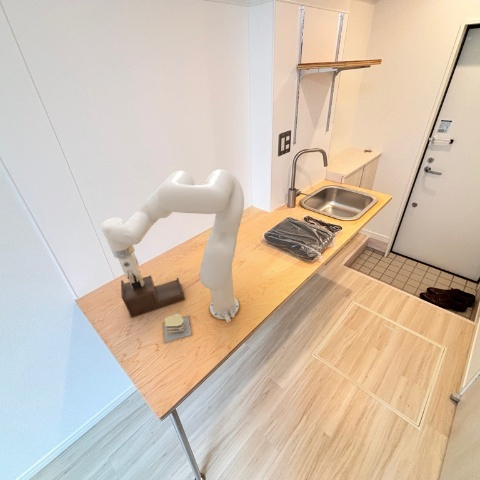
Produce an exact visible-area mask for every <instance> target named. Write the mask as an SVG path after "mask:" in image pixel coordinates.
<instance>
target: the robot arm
mask: <svg viewBox="0 0 480 480" xmlns="http://www.w3.org/2000/svg"><path fill="white" fill-rule="evenodd" d="M244 208H245V195H244V190H243V186H242V185H241V183H240V180H238V178H237V177H236V176H235V175H234V174H233V173H232V172H230V171H229V170H227V169H223V168H218V169H214V170H213V171H212V172H210V173H209V174H208V175H207V177H206V178H205V180H204V182H203V184H202V185H200V184H196V182H195V180H194V178H193V176H192V175H191V174H190V173H189V172H187V171H185V170H177V171H174V172H172V173H171V174H170V175H168V176H167V177H166V178H165V180H164V181H163V182H162V183H161V184H160V185H159V186H158V187H157V188H156V189H155V190H154V191H153V192H152V193H151V194H150V195H149V196H148V197H147V199H146V201H145V202H144V203H143V204H142V206H140V208H139V209H137V210H136V211H135V213H133V215H132V216H130V217H129V219H128V220H127V221H126V222H125V221H124V220H123V219H122V218H120V217H111V218H110V217H109V218H108V219H106V220H104V221H103V222H102V223H101V226H100V227H101V228H100V229H101V231H102V234H103V235H104V237H105V239H106V242H107V244H108V246H109V249H110V251H111V253H112V255H113V257H114V258H115V259H118V262H119V264H120V267H121V269H122V272H123V274H124V276H125V278H126V279H127V280H128V279H130V282H131V285H132V287H133V289H134V290H136V289H139V288H142V286H141V283H140V281H139V280H138V278H137V276H139V275H140V273H141V270H140V271H139V269H140V264H139V263H140V262H139V261H138V258H137V256H136V254H135V251H136V250H135V247H134V245H138V244H140V243H141V242H142V240H143V239H145V236H146V235H147V233H148V232H149V231H150V230H151V228H152V227H153V225H155V223H157V222H158V221H159V220H160V219H166V218H169V216H171V215H172V214H173V213H178V214H179V213H180V214H200V215H214V220H213V221H214V222H213V226H212V228H211V231H210V233H209V236H208V238H207V242H206V244H205V247H204V251H203V255H202V260H201V263H200V264H201V265H200V269H199V276H198V277H199V281H200V284H201V285H202V286H203V287H205V288H206V289H208V290H209V291H210V292H209V293H210V297H211V301H210V304H209V312H210V314H211V316H213V317H214V318H215V319H219V320H225V322H226V323H230V322H232V319H231V318H235V317H236V315H237V313H238V312H239V309H240V304H239V300H238V299H237V298H236V297H235V289H234V279H233V262H234V259H235V255H236V254H235V253H236V249H237V243H238V242H237V240H238V235H239V230H240V227H241V222H242V218H243V214H244ZM133 274H134V275H133ZM134 277H135V278H136V279H134Z"/></svg>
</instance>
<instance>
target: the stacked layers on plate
mask: <svg viewBox="0 0 480 480" xmlns="http://www.w3.org/2000/svg"><path fill="white" fill-rule="evenodd" d="M163 325H164V343H167V342H171V341H175V340H178V339H181V338H185V337H188V336H192V332H191V326H190V325H191V324H190V319H189V316H186V317H183V316H182V315H181V313H175V314H173V315H170V316H167V317H165V318H164V322H163Z"/></svg>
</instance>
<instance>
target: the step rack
mask: <svg viewBox="0 0 480 480" xmlns="http://www.w3.org/2000/svg"><path fill="white" fill-rule="evenodd" d="M142 278H143V281H144V285H143V286H142V288H139V289H136V290H134V289H133V288H132V287H131V285H130V283H129V281H128V282H125V281H124V279H121V280H120V296H121V299H122V301H123V303H124V305H125V307H126V309H127V311H128V313H129V315H130V318H134V317H138V316H140V315H143V314H145V313H149V312H151V311H155V310H158V309H162V308H164V307H166V306H170V305H172V304H175V303H178V302H181V301H185V295H184V293H183V288H182V286H181V282H180V279H179V277H176V279H175V280H171V281H168V282H164V283H162V284H159V285H155V283H154V280H153V277H152V275H148V276H144V277H142Z"/></svg>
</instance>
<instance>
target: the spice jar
mask: <svg viewBox="0 0 480 480" xmlns="http://www.w3.org/2000/svg"><path fill="white" fill-rule="evenodd" d="M139 271H140V275H139V276H137V278H138V280H139V281H140V283H141V286H143V285H144V281H143V278H144V277H143V276H142V273H141V270H140V268H139ZM133 275H134V274H133ZM134 279H136V278H135V277H134ZM127 280H128V282H129V283H130V285H131V282H130V279H127ZM131 287H132V285H131ZM132 288H133V287H132Z"/></svg>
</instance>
